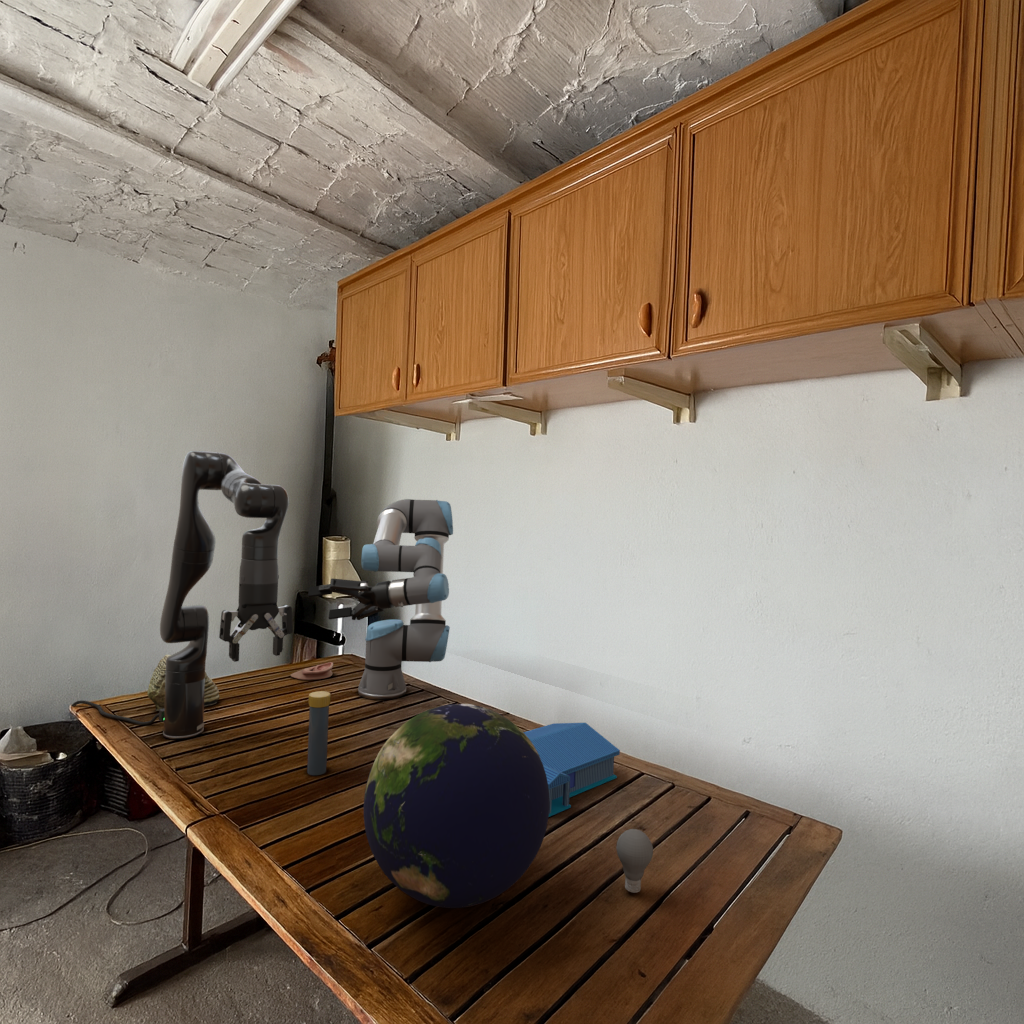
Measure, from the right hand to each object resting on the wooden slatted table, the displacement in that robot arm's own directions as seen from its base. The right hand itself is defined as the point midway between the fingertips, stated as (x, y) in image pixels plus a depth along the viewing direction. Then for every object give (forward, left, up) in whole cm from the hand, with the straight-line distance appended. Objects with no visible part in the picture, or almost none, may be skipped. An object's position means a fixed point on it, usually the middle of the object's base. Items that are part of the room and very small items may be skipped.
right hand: (319, 603), depth 177 cm
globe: (+72, +49, -33) cm, 94 cm away
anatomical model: (-42, -16, -33) cm, 56 cm away
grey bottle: (+32, +12, -33) cm, 47 cm away
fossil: (-5, -41, -33) cm, 53 cm away
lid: (+32, +12, -15) cm, 37 cm away
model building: (+33, +61, -33) cm, 77 cm away
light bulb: (+69, +79, -33) cm, 110 cm away
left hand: (+46, +3, -4) cm, 46 cm away
